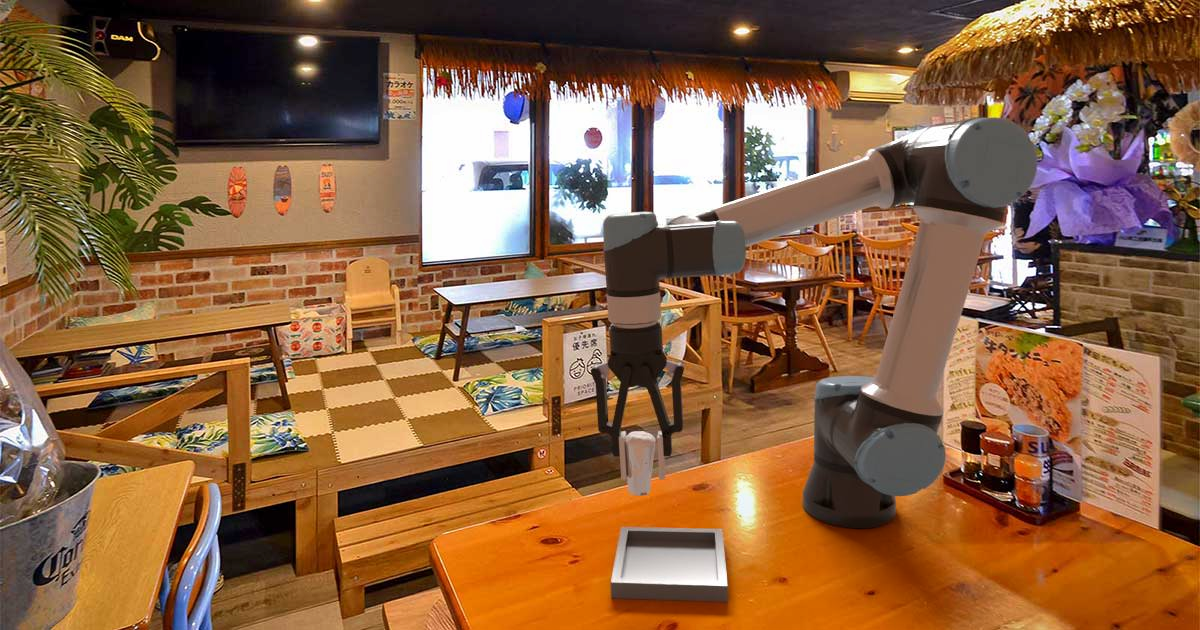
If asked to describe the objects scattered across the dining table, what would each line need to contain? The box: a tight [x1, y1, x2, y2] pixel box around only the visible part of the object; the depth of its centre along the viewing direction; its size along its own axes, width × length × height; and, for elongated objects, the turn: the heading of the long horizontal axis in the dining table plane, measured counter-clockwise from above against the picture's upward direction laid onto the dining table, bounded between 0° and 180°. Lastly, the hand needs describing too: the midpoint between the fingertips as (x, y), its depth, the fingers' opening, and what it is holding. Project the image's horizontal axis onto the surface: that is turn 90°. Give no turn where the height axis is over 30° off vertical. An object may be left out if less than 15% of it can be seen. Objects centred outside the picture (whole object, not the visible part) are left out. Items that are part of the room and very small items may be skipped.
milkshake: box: [625, 430, 661, 497], centre depth 105 cm, size 5×5×10 cm
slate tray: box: [610, 526, 729, 603], centre depth 106 cm, size 16×16×2 cm
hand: (643, 475), depth 106 cm, fingers closed on milkshake, 5 cm apart
